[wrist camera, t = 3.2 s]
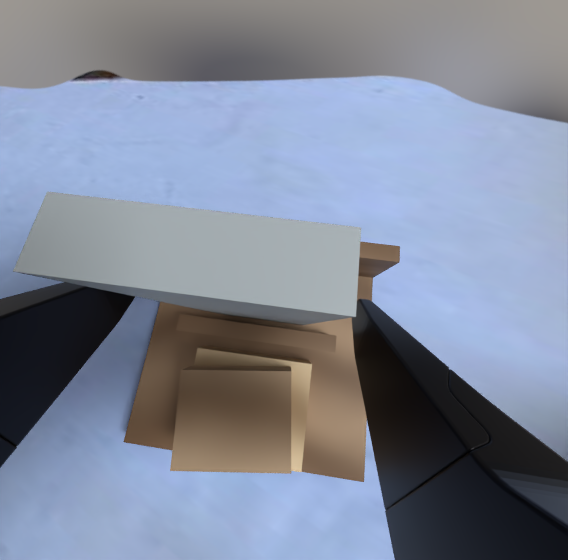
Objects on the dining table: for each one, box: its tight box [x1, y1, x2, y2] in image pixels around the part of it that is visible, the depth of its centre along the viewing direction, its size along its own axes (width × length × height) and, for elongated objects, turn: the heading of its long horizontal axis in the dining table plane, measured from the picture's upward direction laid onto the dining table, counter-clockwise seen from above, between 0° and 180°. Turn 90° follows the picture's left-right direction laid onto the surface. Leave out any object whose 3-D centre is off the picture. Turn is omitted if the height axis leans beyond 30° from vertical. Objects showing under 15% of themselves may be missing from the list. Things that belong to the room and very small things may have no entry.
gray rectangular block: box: [13, 192, 361, 325], centre depth 10 cm, size 2×6×12 cm, turn 82°
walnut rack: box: [124, 242, 400, 482], centre depth 14 cm, size 14×16×5 cm
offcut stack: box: [170, 346, 312, 473], centre depth 13 cm, size 6×8×3 cm
